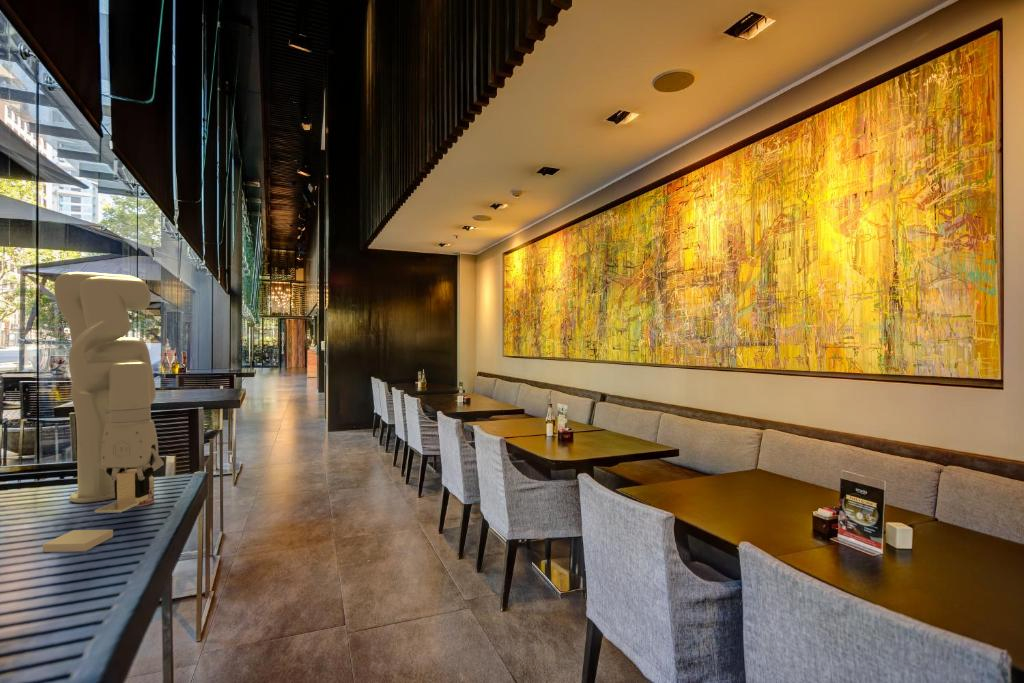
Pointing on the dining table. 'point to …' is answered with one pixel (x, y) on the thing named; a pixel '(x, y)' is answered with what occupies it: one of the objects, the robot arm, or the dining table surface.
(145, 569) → the dining table surface
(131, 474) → the beige boxy piece
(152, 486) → the pill bottle
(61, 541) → the block
